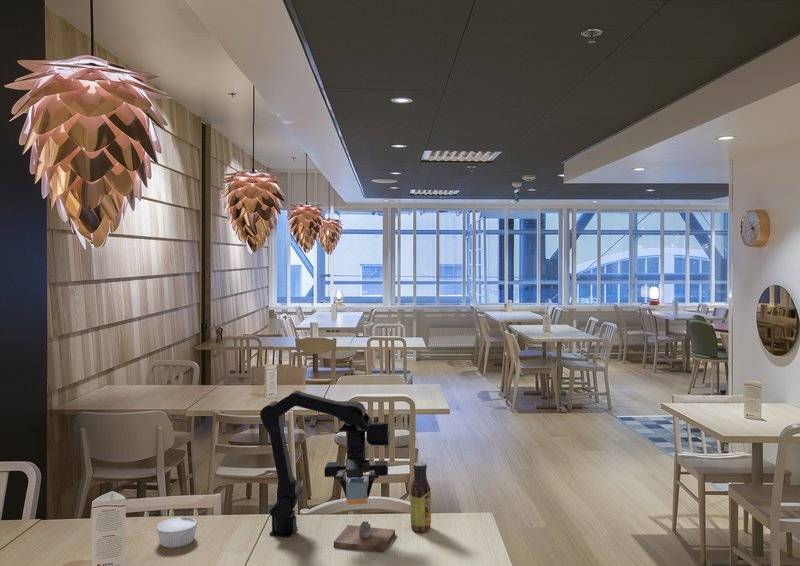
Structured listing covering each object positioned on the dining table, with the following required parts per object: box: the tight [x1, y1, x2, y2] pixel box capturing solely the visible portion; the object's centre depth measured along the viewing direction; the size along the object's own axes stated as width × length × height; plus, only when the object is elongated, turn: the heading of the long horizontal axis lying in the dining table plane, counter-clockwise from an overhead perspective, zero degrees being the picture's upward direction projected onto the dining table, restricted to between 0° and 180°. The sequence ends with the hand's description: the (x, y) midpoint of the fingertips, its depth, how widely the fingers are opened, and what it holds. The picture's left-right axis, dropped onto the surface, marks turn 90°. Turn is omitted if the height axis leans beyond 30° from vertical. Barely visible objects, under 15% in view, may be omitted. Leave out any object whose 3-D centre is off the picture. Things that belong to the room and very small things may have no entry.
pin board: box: [333, 521, 396, 553], centre depth 185 cm, size 15×12×5 cm
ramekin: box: [156, 516, 198, 549], centre depth 187 cm, size 11×11×5 cm
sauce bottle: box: [409, 461, 432, 533], centre depth 193 cm, size 6×6×20 cm
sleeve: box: [345, 476, 369, 505], centre depth 189 cm, size 6×6×6 cm
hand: (357, 497), depth 189 cm, fingers closed on sleeve, 6 cm apart
